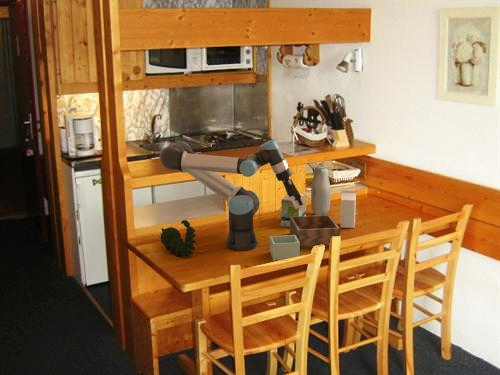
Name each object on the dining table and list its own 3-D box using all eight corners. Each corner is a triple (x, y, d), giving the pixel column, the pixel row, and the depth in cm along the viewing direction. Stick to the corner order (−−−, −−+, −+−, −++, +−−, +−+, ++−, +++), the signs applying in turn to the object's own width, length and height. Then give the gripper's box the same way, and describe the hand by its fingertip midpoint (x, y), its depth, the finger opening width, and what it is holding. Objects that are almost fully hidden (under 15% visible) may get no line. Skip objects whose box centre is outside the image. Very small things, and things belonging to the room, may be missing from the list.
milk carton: (354, 228, 340) (355, 192, 335) (340, 227, 341) (341, 192, 337) (354, 224, 347) (355, 189, 342) (341, 223, 348) (342, 188, 343)
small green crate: (273, 260, 296) (273, 244, 294) (269, 252, 307) (269, 236, 305) (299, 259, 297) (299, 242, 295) (295, 251, 308) (295, 234, 306)
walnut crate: (298, 248, 312) (298, 230, 309) (289, 233, 333) (289, 216, 331) (339, 246, 314) (339, 228, 312) (328, 231, 335) (329, 214, 333)
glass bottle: (316, 212, 369) (317, 163, 362) (333, 214, 363) (334, 165, 356) (307, 216, 361) (308, 166, 354) (324, 219, 355) (324, 168, 348)
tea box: (299, 228, 341) (299, 200, 338) (280, 226, 344) (280, 199, 341) (306, 220, 355) (306, 193, 351) (288, 218, 358) (288, 192, 354)
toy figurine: (200, 260, 303) (169, 242, 321) (201, 221, 297) (170, 205, 315) (183, 265, 297) (153, 246, 315) (183, 226, 291) (153, 209, 309)
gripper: (294, 168, 305) (313, 208, 308) (283, 165, 330) (302, 203, 333) (279, 175, 305) (299, 216, 308) (270, 172, 329) (288, 209, 332)
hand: (301, 209), depth 320 cm, fingers open, 13 cm apart
